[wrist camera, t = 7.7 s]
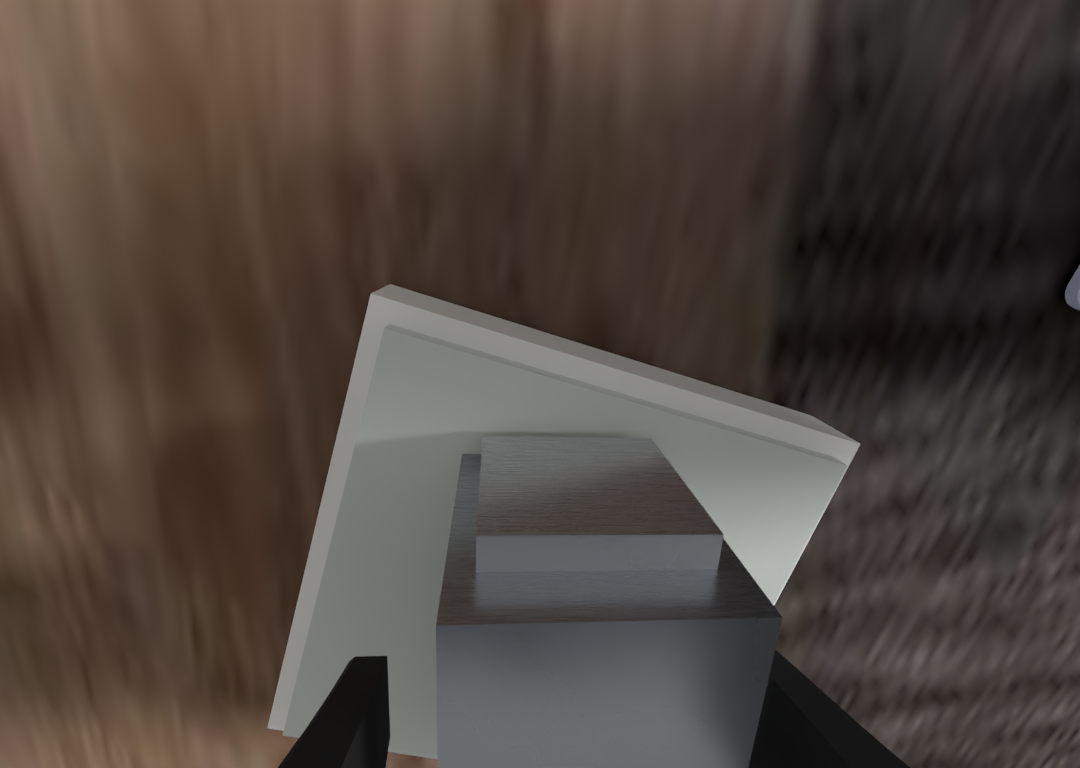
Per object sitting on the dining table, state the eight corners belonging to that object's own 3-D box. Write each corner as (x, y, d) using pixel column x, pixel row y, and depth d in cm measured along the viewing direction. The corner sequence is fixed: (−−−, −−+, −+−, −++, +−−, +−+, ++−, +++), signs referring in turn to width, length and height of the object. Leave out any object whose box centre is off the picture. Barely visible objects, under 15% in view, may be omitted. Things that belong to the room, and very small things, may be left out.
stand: (811, 415, 14) (875, 452, 12) (654, 729, 17) (680, 809, 15) (390, 284, 12) (364, 296, 10) (296, 666, 15) (258, 746, 13)
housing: (625, 741, 14) (693, 1008, 9) (460, 748, 13) (440, 1034, 9) (665, 431, 11) (791, 579, 6) (461, 428, 11) (435, 585, 6)
